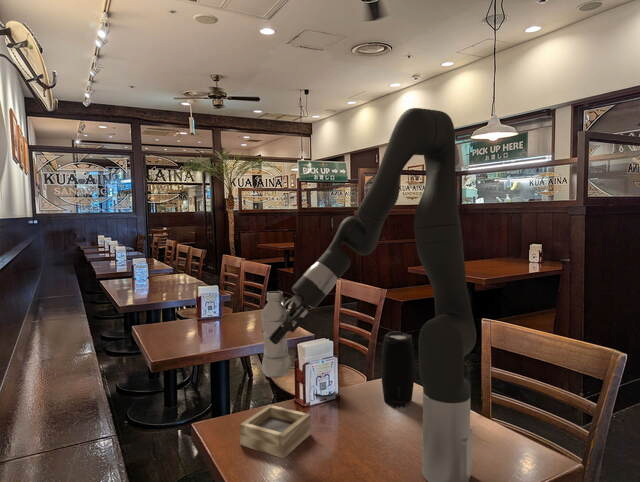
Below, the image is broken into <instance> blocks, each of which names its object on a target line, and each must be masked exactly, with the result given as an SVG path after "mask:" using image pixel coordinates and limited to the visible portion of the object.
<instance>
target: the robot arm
mask: <svg viewBox="0 0 640 482" xmlns="http://www.w3.org/2000/svg"><path fill="white" fill-rule="evenodd" d="M455 130H456V129H455V126H454V122H453V120H452V118H451V116H450V115H449V114H448V113H447V112H445V111H443V110H436V109H428V108H422V107H413V108H408V109H407V110H405V111H404V112H403V113H402V114H401V115H400V117H399V118H398V120H397V121H396V123H395V126H394V128H393V130H392V132H391V135H390V137H389V141H388V143H387V146H386V148H385V151H384V153H383V156H382V159H381V161H380V165H379V166H378V170H377V173H376V175H375V178H374V180H373V181H372V183H371V186H370V187H369V188H368V190H367V192H366V194H365V195H364V197H363V199H362V200H361V202H360V204H359V206H358V208H357V216H358V217H357V216H354V215H351V216H347V217H345V218H344V219H343V220H342V221H341V223H340V224H339V226H338V228H337V230H336V233H335V235H334V237H333V239H332V241H331V243H330V244H329V246H328V247H327V248H326V250H325V251H324V253H322V255H321V256H320V257H319V258H318V259H317V260H316V261H315V262H314V263H313V264H312V265H311V266H310V267H308V269H307V270H306V271H305V272H304V273H303V274H302V276H300V278H299V279H298V280H297V281H296V283H294V285H292V287H291V290H292V292H293V293H294V295H293V296H292V297H290V298H288V297H286V296H285V297H283V300H282V303H283V304H284V306H285V307H286V309H287V312H286V315H285V319H284V321H283V322H282V323H281V325H280V326H281V327H280V326H279V327H278V328H277V329H276V330H275V332H274V333H273V334H272V335H271V336H270V337H269V339H270V341H272V342H273V343H274V344H277V343H278V342H279V341H280V340H281V339H282V338H283V337H284V335H285V334H286V332H287V334H289V333H295V331H296V330H297V329H298V328H299V327H301V325H302V324H303V323H304V322H305V321H306V319H308V318H309V316H311V312H310V311H308V308H311V309H312V310H313V309H316V308H317V307H318V306H319V304H320V303H321V302H322V301H323V300H324V299H325V298H326V297H327V295H328V294H329V293H330V292H331V291H332V289H333V288H334V287H335V285H336V284H337V282H338V280H340V279H341V277H342V276H344V273H345V272H347V270H348V269H349V268H350V266H351V263H352V262H351V259H350V257H349V255H348V254H347V253H346V252H345V250H344V249H343V244H345V245H346V246H348V248H350V249H352V250H353V251H354V252H355V253H356V254H357V255H359V256H364V257H365V256H367V255H368V256H369V255H370V254H372V253H373V252H374V251H375V249H376V248H377V245H378V242H379V240H380V235H381V232H382V229H383V225H384V223H385V221H386V219H387V218H388V217H389V215H390V213H391V212H392V210H393V209H394V207H395V205H396V204H397V201H398V199H399V196H400V195H399V194H400V188H401V187H400V184H401V176H402V175H401V174H402V172H403V170H404V168H405V166H406V165H407V164H408V162H410V160H411V159H412V158H413V156H423V158H424V166H425V184H424V188H423V192H422V194H421V197H420V200H419V202H418V204H417V207H416V211H415V213H414V219H413V229H414V238H415V247H416V251H417V255H418V258H419V260H420V263H421V265H422V267H423V269H424V271H425V274H426V276H427V277H428V281H429V282H430V284H431V287H432V290H433V291H432V292H433V297H434V298H433V299H434V312H435V314H434V315H435V316H434V317H433V318H430V319H429V320H427V321H426V322H425V323H424V324H423V325H422V326H421V328H420V331H419V335H418V343H417V344H418V371H419V373H418V374H419V379H420V381H421V384H422V462H421V463H422V465H421V467H422V472H421V473H422V476H423V478H424V479H425V480H426V481H427V482H470V479H471V476H472V457H473V453H472V449H473V448H472V447H473V446H472V445H473V443H472V442H473V441H472V440H473V431H472V429H471V391H472V390H471V383H470V381H469V380H468V379H467V378H466V377H465V375H464V374H465V370H464V367H465V366H464V365H465V364H464V358H465V356H467V355H469V354H470V353H471V352H472V351H473V349H474V348H475V345H476V342H477V329H476V325H475V319H474V315H473V311H472V306H471V302H470V298H469V293H468V284H467V274H466V264H465V263H466V262H465V255H464V244H463V243H464V241H463V232H462V225H461V217H460V212H459V202H458V201H459V200H458V199H459V198H458V189H457V178H456V175H457V174H456V132H455ZM261 331H262V333H263V329H262V330H261Z"/></svg>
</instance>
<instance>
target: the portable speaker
mask: <svg viewBox="0 0 640 482" xmlns="http://www.w3.org/2000/svg"><path fill="white" fill-rule="evenodd" d="M414 384H415V352H414V346H413V336H412V334H407V333H404V332H402V331H399V330H398V331H396V330H393V331H389V332H388V333H386V334H385V335H384V336H383V343H382V349H381V386H382V392H383V401H384V402H388V403H389V404H390V406H391V407H393V408H405V407H406V406H407V405H408V404H409V403H411V402H412V400H413V395H414V394H413V393H414V387H415V386H414Z"/></svg>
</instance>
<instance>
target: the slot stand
mask: <svg viewBox="0 0 640 482" xmlns="http://www.w3.org/2000/svg"><path fill="white" fill-rule="evenodd" d="M239 436H240V437H239V440H240V441H239V443H240V446H243V447H245V448H248V449H252V450H256V451H258V452H260V453H265V454H267V455H268V454H269V455H271V456H275V457H278V458H281V459H284V458H285V457H287V456H288V455H289V454H290V453H291V452H293V450H295V449H296V448H297V447H298V446H299V445H300V444H301V443H303V442H304V440H306V439H307V438H308V437H309V436H311V414H310V413H305V412H301V411H298V410H293V409H289V408H285V407H280V406H276V405H272V404H268V405H267V406H265V407H264V408H262V409H261V410H259V411H257V412H256V413H255V414H254V415H252V416H250V417H248V418H247V419H246V420H243V422H241V423H240V424H239Z"/></svg>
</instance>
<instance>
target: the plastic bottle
mask: <svg viewBox="0 0 640 482" xmlns="http://www.w3.org/2000/svg"><path fill="white" fill-rule="evenodd" d="M283 294H284V293H283V291H280V290H276V291H275V290H274V291H273V290H271V291H267V292H266V301H267V303H266V304H265V306H264V307H263V309H262V310H261V312H260V319H261V325H262V330H263V332H262V334H263V342H264V343H263V356H262V362H261V368H262V372H263V375H264V376H266V377H268V378H272V379H273V378H275V379H278V378H282V377H286V376H287V375H288V374H289V373H290V370H291V369H290V368H291V360H290V356H289V348H288V333H287V332H286V334H285V335H284V337H283V338H282V339H281V340H280V341H279V342H278V343H277V344H274V343H273V342H272V341H270V339H269V337H270V336H271V335H272V334H273V333H274V332H275V330H276V329H277V328H278V327H279V326H280V325H281V323H282V322H283V321H284V319H285V315H286V312H287V309H286V307H285V306H284V304H283V303H282V301H283V299H284V296H283ZM280 327H281V326H280Z"/></svg>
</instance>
